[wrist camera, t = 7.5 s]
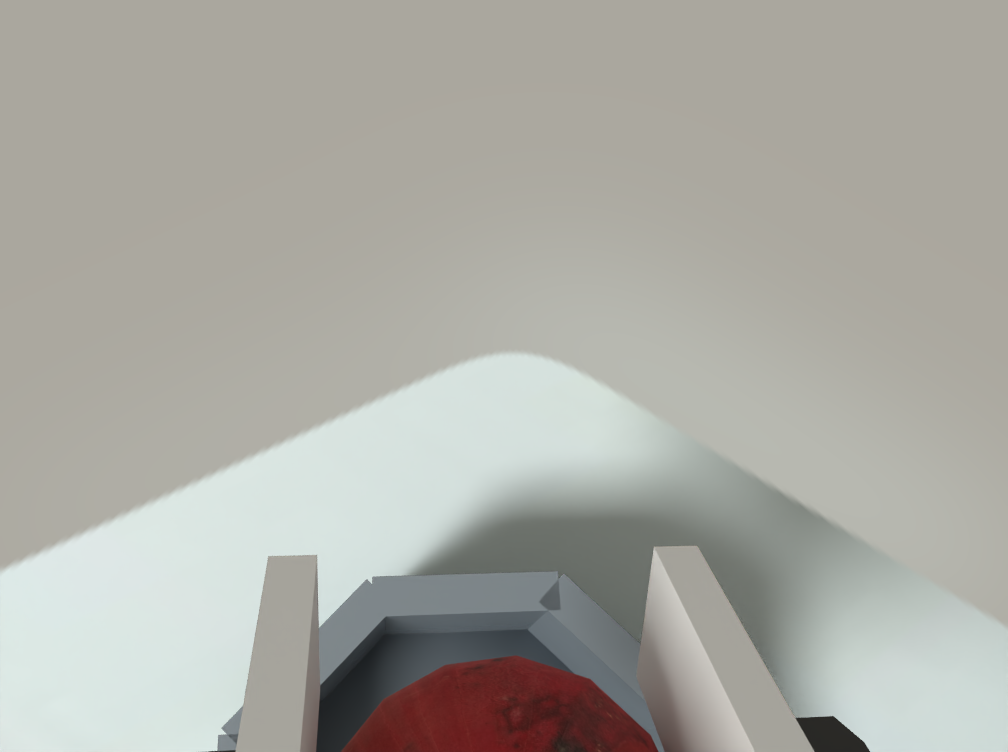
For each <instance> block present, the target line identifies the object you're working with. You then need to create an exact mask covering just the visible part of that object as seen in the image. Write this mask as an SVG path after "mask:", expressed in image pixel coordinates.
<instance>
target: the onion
mask: <svg viewBox="0 0 1008 752" xmlns="http://www.w3.org/2000/svg"><path fill="white" fill-rule="evenodd" d="M341 752H658V750H657V748H656V745H655V743H654V741H653V739H652V737H651V735H650V734H649V733H648V732H647V731H646V730H645V729H644V728H642V727H641V726H640V725H639V724H638V723H637V722H636V721H635V720H634V719H633V718H632V717H631V716H629V715H628V714H627V713H626V712H625V711H624V710H623V709H622V708H621V707H620V706H619V705H618V704H617V703H615V702H614V701H613V700H612V699H611V698H610V697H609V696H608V695H607V694H606V693H605V692H604V691H603V690H601V689H600V688H599V687H598V686H597V685H596V684H595V683H594V682H593V681H592V680H591V679H589V678H586V677H583V676H580V675H576V674H573V673H570V672H567V671H564V670H561V669H557V668H554V667H551V666H548V665H545V664H542V663H539V662H535V661H532V660H529V659H526V658H523V657H520V656H517V655H516V656H508V657H501V658H493V659H485V660H478V661H470V662H463V663H455V664H448V665H444V666H442V667H440V668H439V669H437V670H435V671H433V672H431V673H430V674H428V675H426V676H424V677H422V678H421V679H419V680H417V681H415V682H414V683H412V684H410V685H408V686H406V687H405V688H403V689H401V690H399V691H397V692H396V693H394V694H392V695H390V696H388V697H387V698H385V699H383V701H382V702H381V703H380V704H379V705H378V707H377V708H376V709H375V710H374V712H373V713H372V714H371V715H370V717H369V718H368V719H367V720H366V721H365V723H364V724H363V725H362V726H361V728H360V729H359V730H358V731H357V733H356V734H355V735H354V736H353V738H352V739H351V740H350V741H349V742H348V744H347V745H346V746H345V747H344V749H343V750H342V751H341Z"/></svg>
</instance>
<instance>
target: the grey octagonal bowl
mask: <svg viewBox="0 0 1008 752" xmlns="http://www.w3.org/2000/svg"><path fill="white" fill-rule="evenodd" d="M640 645H641V644H640V643H639V642H638V641H637V640H636V639H635V638H633V637H632V636H631V635H630V634H629V633H628V632H627V631H626V630H625V629H624V628H623V627H622V626H620V625H619V624H618V623H617V622H616V621H615V620H614V619H613V618H612V617H611V616H610V615H608V614H607V613H606V612H605V611H604V610H603V609H602V608H601V607H600V606H599V605H598V604H597V603H595V602H594V601H593V600H592V599H591V598H590V597H589V596H588V595H587V594H586V593H585V592H583V591H582V590H581V589H580V588H579V587H578V586H577V585H576V584H575V583H574V582H573V581H572V580H570V579H569V578H568V577H567V576H566V575H565V574H564V573H563V574H562V575H561V576H560V578H559V579H558V571H544V572H512V573H479V574H446V575H413V576H380V577H372V584H371V583H370V582H369V581H368V580H367V579H366V580H365V582H364V583H363V584H362V585H361V586H360V587H359V588H358V589H357V590H356V591H355V592H354V593H353V594H352V595H351V596H350V597H349V598H348V599H347V600H346V601H345V602H344V603H343V604H342V605H341V606H340V607H339V608H338V609H337V610H336V611H335V612H334V613H333V614H332V615H331V616H330V617H329V618H328V619H327V620H326V622H325V623H324V624H323V625H322V626H321V627H320V628H319V664H320V700H319V715H318V730H317V745H316V752H341V751H342V750H343V749H344V747H345V746H346V745H347V744H348V742H349V741H350V740H351V739H352V738H353V736H354V735H355V734H356V733H357V731H358V730H359V729H360V728H361V726H362V725H363V724H364V723H365V721H366V720H367V719H368V718H369V717H370V715H371V714H372V713H373V712H374V710H375V709H376V708H377V707H378V705H379V704H380V703H381V702H382V701H383V699H385V698H387V697H388V696H390V695H392V694H394V693H396V692H397V691H399V690H401V689H403V688H405V687H406V686H408V685H410V684H412V683H414V682H415V681H417V680H419V679H421V678H422V677H424V676H426V675H428V674H430V673H431V672H433V671H435V670H437V669H439V668H440V667H442V666H444V665H448V664H455V663H463V662H470V661H478V660H485V659H493V658H501V657H508V656H516V655H517V656H520V657H523V658H526V659H529V660H532V661H535V662H539V663H542V664H545V665H548V666H551V667H554V668H557V669H561V670H564V671H567V672H570V673H573V674H576V675H580V676H583V677H586V678H589V679H591V680H592V681H593V682H594V683H595V684H596V685H597V686H598V687H599V688H600V689H601V690H603V691H604V692H605V693H606V694H607V695H608V696H609V697H610V698H611V699H612V700H613V701H614V702H615V703H617V704H618V705H619V706H620V707H621V708H622V709H623V710H624V711H625V712H626V713H627V714H628V715H629V716H631V717H632V718H633V719H634V720H635V721H636V722H637V723H638V724H639V725H640V726H641V727H642V728H644V729H645V730H646V731H647V732H648V733H649V734H650V735H651V737H652V739H653V741H654V743H655V745H656V748H657V750H658V752H665V751H664V749H663V746H662V743H661V741H660V738H659V736H658V733H657V730H656V728H655V725H654V722H653V720H652V717H651V714H650V712H649V709H648V706H647V704H646V701H645V698H644V696H643V693H642V690H641V688H640V685H639V683H638V680H637V677H636V674H637V667H638V659H639V652H640ZM242 710H243V707H242V708H241V709H240V710H239V711H238V712H237V713H236V714H235V715H234V716H233V717H232V718H231V719H230V720H229V721H228V722H227V723H226V724H225V725H224V726H223V727H222V729H223V730H224V732H225V733H226V734H227V735H218V751H228V750H236V745H237V740H238V734H239V728H240V722H241V716H242Z"/></svg>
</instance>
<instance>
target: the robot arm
mask: <svg viewBox="0 0 1008 752" xmlns="http://www.w3.org/2000/svg"><path fill="white" fill-rule="evenodd" d="M636 677H637V680H638V683H639V685H640V688H641V690H642V693H643V696H644V698H645V701H646V704H647V706H648V709H649V712H650V714H651V717H652V720H653V722H654V725H655V728H656V730H657V733H658V736H659V738H660V741H661V743H662V746H663V749H664V751H665V752H870V751H869V749H868V748H867V746H866V745H865V743H864V742H863V741H862V740H861V739H860V738H858V737H857V736H856V735H855V734H854V733H853V732H851V731H850V730H849V729H848V728H847V727H845V726H844V725H843V724H842V723H841V722H840V721H838V720H837V719H836V718H835V717H834V716H829V717H809V718H795V717H794V715H793V713H792V711H791V709H790V708H789V706H788V704H787V702H786V701H785V699H784V697H783V695H782V694H781V692H780V690H779V688H778V687H777V685H776V683H775V681H774V680H773V678H772V676H771V674H770V673H769V671H768V669H767V667H766V666H765V664H764V662H763V660H762V659H761V657H760V655H759V653H758V651H757V650H756V648H755V646H754V644H753V643H752V641H751V639H750V637H749V636H748V634H747V632H746V630H745V629H744V627H743V625H742V623H741V622H740V620H739V618H738V616H737V615H736V613H735V611H734V609H733V608H732V606H731V604H730V602H729V600H728V599H727V597H726V595H725V593H724V592H723V590H722V588H721V586H720V585H719V583H718V581H717V579H716V578H715V576H714V574H713V572H712V571H711V569H710V567H709V565H708V564H707V562H706V560H705V558H704V557H703V555H702V553H701V551H700V549H699V548H698V546H659V547H654V550H653V557H652V564H651V572H650V579H649V586H648V594H647V601H646V608H645V615H644V623H643V630H642V637H641V645H640V652H639V659H638V667H637V674H636ZM319 700H320V664H319V621H318V578H317V555H303V556H268V562H267V568H266V574H265V579H264V585H263V591H262V597H261V603H260V609H259V615H258V621H257V627H256V633H255V639H254V645H253V651H252V657H251V662H250V668H249V674H248V680H247V686H246V692H245V698H244V704H243V710H242V716H241V722H240V728H239V734H238V740H237V745H236V750H228V751H210V752H316V745H317V730H318V715H319Z"/></svg>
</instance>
